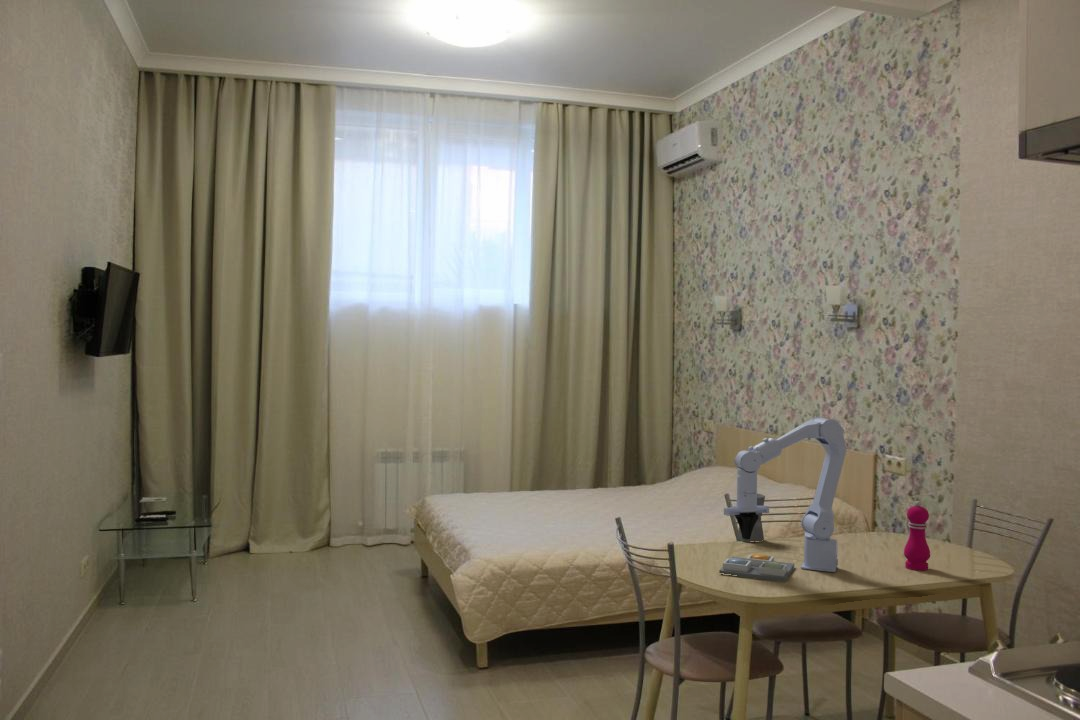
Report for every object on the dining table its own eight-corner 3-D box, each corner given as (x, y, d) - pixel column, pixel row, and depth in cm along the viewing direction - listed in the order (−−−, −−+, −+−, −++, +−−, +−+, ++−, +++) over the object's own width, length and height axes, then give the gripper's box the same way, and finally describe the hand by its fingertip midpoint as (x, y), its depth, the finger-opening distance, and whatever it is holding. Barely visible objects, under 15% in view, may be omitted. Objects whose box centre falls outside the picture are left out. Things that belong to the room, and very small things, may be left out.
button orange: (769, 560, 256) (769, 555, 256) (767, 564, 252) (767, 558, 252) (753, 559, 258) (753, 553, 258) (750, 562, 254) (751, 556, 254)
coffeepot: (747, 535, 303) (748, 483, 303) (772, 539, 296) (773, 486, 296) (724, 541, 291) (725, 487, 291) (750, 545, 285) (751, 490, 285)
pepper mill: (935, 569, 257) (936, 502, 257) (919, 572, 253) (920, 503, 253) (914, 564, 263) (915, 498, 263) (898, 566, 260) (899, 499, 260)
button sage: (782, 569, 246) (782, 563, 246) (780, 572, 242) (780, 566, 242) (765, 567, 248) (766, 561, 248) (763, 570, 244) (763, 564, 244)
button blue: (746, 565, 250) (746, 559, 250) (743, 568, 246) (743, 562, 246) (730, 563, 252) (730, 557, 252) (727, 566, 248) (727, 560, 248)
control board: (794, 567, 256) (794, 557, 256) (784, 582, 239) (785, 571, 239) (732, 560, 263) (732, 550, 263) (719, 574, 246) (719, 563, 246)
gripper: (759, 489, 260) (758, 534, 261) (718, 491, 255) (717, 537, 255) (773, 492, 254) (773, 539, 254) (732, 494, 248) (731, 542, 249)
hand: (746, 538), depth 254 cm, fingers closed
